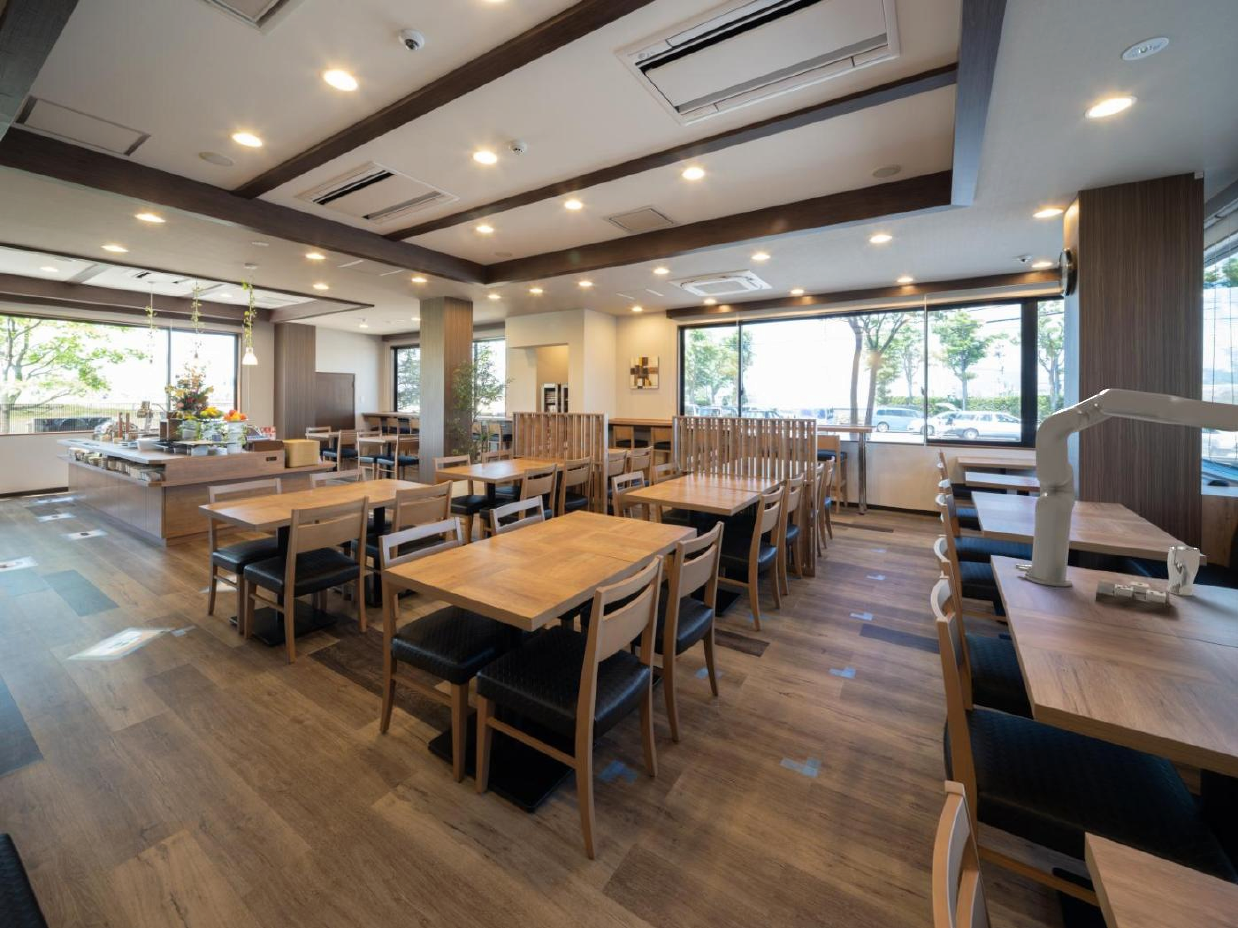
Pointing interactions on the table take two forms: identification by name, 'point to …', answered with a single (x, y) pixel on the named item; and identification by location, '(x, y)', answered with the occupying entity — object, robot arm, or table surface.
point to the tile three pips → (1123, 590)
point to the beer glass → (1182, 569)
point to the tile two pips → (1156, 596)
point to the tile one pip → (1139, 587)
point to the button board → (1130, 599)
